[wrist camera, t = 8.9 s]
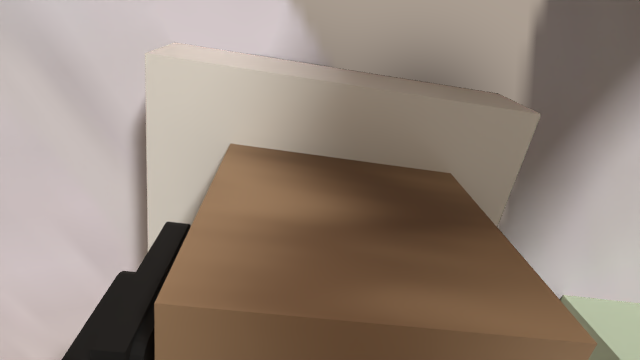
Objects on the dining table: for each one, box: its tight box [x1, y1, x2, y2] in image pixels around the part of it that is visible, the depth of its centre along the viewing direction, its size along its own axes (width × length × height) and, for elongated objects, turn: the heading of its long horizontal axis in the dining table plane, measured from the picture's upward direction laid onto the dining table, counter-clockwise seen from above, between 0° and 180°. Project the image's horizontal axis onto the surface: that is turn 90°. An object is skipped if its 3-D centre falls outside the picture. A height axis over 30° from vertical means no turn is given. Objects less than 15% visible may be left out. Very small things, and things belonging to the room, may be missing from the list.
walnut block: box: [154, 143, 597, 360], centre depth 9 cm, size 6×6×6 cm
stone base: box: [145, 42, 541, 251], centre depth 13 cm, size 10×10×2 cm
